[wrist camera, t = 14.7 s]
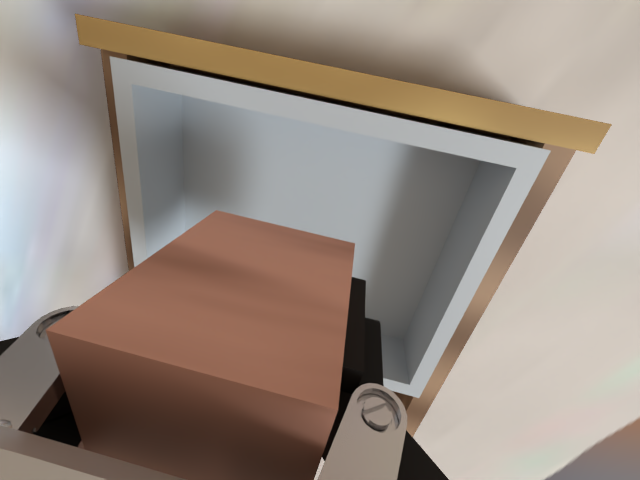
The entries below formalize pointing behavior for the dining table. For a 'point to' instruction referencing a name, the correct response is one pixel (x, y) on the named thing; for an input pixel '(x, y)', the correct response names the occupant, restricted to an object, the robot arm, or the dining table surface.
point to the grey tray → (327, 192)
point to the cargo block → (214, 353)
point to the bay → (368, 94)
